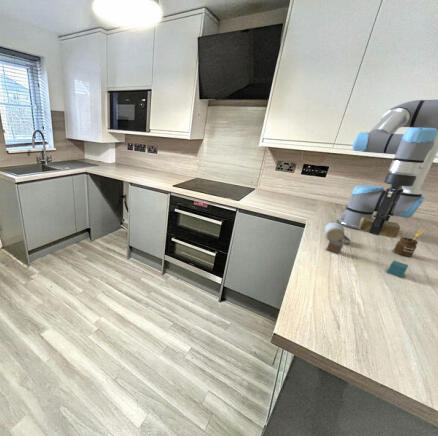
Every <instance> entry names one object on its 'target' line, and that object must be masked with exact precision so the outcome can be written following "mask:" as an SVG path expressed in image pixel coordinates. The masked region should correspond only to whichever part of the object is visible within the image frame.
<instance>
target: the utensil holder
mask: <svg viewBox="0 0 438 436" xmlns="http://www.w3.org/2000/svg"><path fill="white" fill-rule="evenodd" d="M424 231H425V230H424V229H421V228H420V229H419V230H418V231H417V232H416V233H415V236H414V238H412V237H408V235H406V236H405V234H406V232H403V234H402V235H403V236H402V237H400V238H399V240H398V241H397V242H396V244H395V246H394V248H393V252H394V253H395V254H397V255H399V256H403V257H412V256H413V255H414V253H415V251H416V249H417V245H418V240H416V239H417V238H419V237H421V235H422V234H423V232H424ZM409 234H410V235H412V232H411V231H409Z"/></svg>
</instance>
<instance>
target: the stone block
mask: <svg viewBox="0 0 438 436" xmlns="http://www.w3.org/2000/svg"><path fill="white" fill-rule="evenodd" d="M374 220H375V217H372V218H368V217H362V218H361V220H360V223H359V229H360V230H359V229H358V230H359V231H362V232H365V233H369V231H370V229H371V227H372V224H373V222H374ZM400 230H401V225H399V223H398V222H394V221H390V220H388V221H385V222H384V224H383V226H382V229H381V231H380V233H379V235H378V236H383V237H387V238H392V239H395V238H397V237H398V236H399V232H400Z"/></svg>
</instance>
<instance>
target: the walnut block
mask: <svg viewBox="0 0 438 436" xmlns="http://www.w3.org/2000/svg"><path fill="white" fill-rule="evenodd" d="M343 246H344V242H340V241H334V240H332V241H330V240H329V242H328V245H327V248H326V251H327V252H331V253H333V254H339V253H341V252H342V249H343Z"/></svg>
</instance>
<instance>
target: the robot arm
mask: <svg viewBox="0 0 438 436" xmlns="http://www.w3.org/2000/svg"><path fill="white" fill-rule="evenodd" d="M400 128H406V130H405V131H404V133H396V132H397V131H398V130H399V129H400ZM352 150H353V151H354V152H361V153H371V154H385V155H394V158H393V159H392V161H391V163H390V166H389V167H388V172H387V173H386V175H385V178H384V179H383V182H384V183H385V184H388V185H390V187H388V188H386V190H385V187H384V186H380V185H367V184H365V185H364V184H363V185H357V186H355V187H354V188H353V190H352V192H351V195H350V198H349V199H348V200H349V201H348V204H347V206H346V209H345V210H344V211H343V212H342V214H340V216H339V217H338V219H337V223H339V224H341V225H342V226H343V227H347V228H350V229H354V230H359V231H361V230H360V229H359V223H360V220H361V218H362V217H368V218H374V219H375V220H374V222H373V224H372V227H371V229H370V231H369V232H368V234H371V235H375V236H380V235H379V233H380V231H381V229H382V226H383V224H384V222H385V221H390V218H391V217H393V216H395V217H397V218H406V219H408V218H409V219H410V218H412V217H413V216H414V214H415V213H416V212H417V210H418V209H419V208H420V206H421V205H422V203H423V202H424V201H425V200H426V199H425V198H426V197H425V196H423V193H424V192H423V191H422V190H421V188H422V185H423V183H424V181H425V179H426V178H427V175H428V173H429V171H430V169H431V166H432V164H433V163H434V160H435V159H436V156H437V154H438V99H416V100H415V99H414V100H411V101H407V102H403V103H400V104H397V105H395V106H393V107H391V108H389V109H388V110H387V111H385V112H384V114H383V115H382V116H381V118H380V121H379V122H378V123H376V124H375V126H374V127H373V128H372V129H371V130H370V131H369V132H368V131H365V132H359V133H357V134H356V136H355V138H354V140H353V143H352ZM374 212H376V213H375V214H374Z"/></svg>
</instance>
